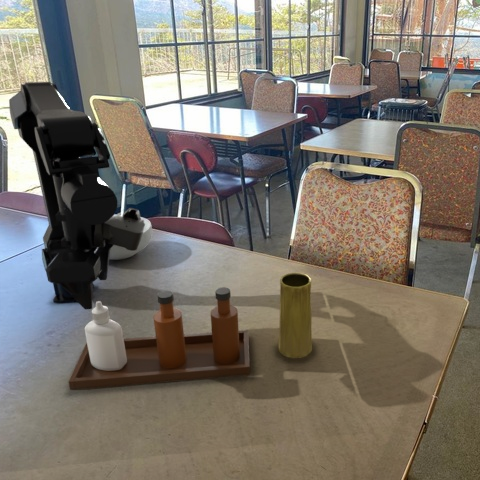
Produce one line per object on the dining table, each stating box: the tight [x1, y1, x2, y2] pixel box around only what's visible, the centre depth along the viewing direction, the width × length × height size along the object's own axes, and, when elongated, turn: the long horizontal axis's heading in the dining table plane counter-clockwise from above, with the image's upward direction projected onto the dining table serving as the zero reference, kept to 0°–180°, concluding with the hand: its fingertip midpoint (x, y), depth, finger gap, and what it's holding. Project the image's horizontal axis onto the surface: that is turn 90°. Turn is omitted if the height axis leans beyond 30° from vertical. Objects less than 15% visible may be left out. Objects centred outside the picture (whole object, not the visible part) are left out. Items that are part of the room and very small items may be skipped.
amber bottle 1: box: [152, 290, 186, 369], centre depth 79 cm, size 4×4×13 cm
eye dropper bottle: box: [84, 300, 127, 371], centre depth 77 cm, size 4×6×12 cm
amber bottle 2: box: [210, 286, 240, 364], centre depth 80 cm, size 4×4×13 cm
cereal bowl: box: [109, 216, 153, 261], centre depth 119 cm, size 17×17×7 cm
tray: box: [68, 329, 251, 391], centre depth 81 cm, size 28×11×2 cm, turn 99°
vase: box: [278, 272, 313, 359], centre depth 83 cm, size 6×6×14 cm
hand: (96, 293), depth 78 cm, fingers open, 9 cm apart
